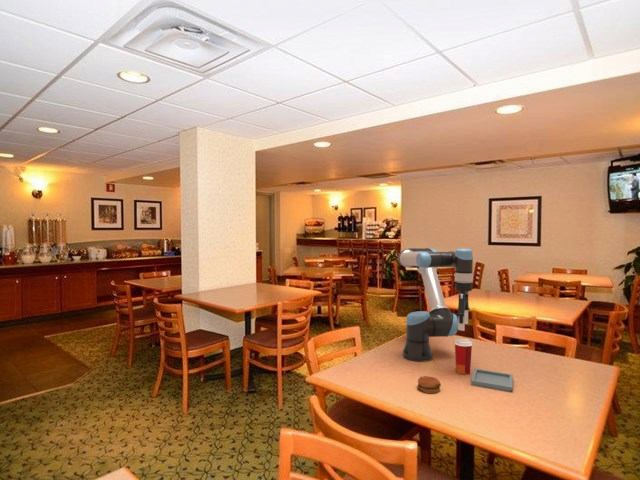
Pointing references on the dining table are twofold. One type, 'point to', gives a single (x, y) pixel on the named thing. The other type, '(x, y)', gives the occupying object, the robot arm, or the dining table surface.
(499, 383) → the tray
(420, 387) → the burger
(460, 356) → the coffee cup
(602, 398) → the dining table surface
